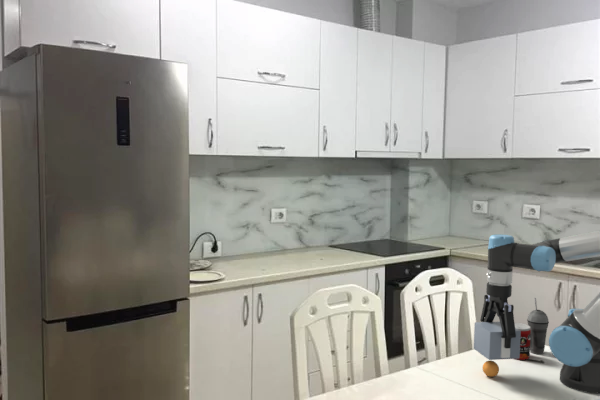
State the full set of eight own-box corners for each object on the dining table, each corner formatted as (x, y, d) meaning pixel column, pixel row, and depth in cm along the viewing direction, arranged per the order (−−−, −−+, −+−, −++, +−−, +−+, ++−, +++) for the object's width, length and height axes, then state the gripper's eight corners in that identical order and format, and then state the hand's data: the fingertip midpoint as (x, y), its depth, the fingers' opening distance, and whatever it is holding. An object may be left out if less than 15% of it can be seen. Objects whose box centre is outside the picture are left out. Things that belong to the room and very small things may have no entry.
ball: (486, 354, 176) (476, 366, 176) (497, 362, 171) (486, 374, 171) (494, 362, 178) (484, 374, 178) (504, 370, 174) (494, 382, 173)
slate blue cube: (502, 347, 181) (503, 321, 180) (519, 358, 170) (520, 331, 170) (473, 348, 179) (474, 322, 178) (489, 359, 169) (490, 332, 168)
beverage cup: (550, 356, 193) (552, 301, 192) (528, 354, 195) (530, 299, 193) (545, 349, 200) (547, 296, 199) (524, 348, 202) (525, 295, 201)
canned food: (511, 360, 190) (512, 329, 189) (503, 352, 198) (504, 322, 197) (533, 360, 189) (534, 329, 189) (524, 352, 197) (525, 322, 197)
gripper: (471, 275, 184) (468, 340, 185) (507, 292, 161) (504, 365, 163) (492, 275, 185) (489, 339, 186) (530, 291, 162) (527, 364, 164)
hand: (496, 351), depth 175 cm, fingers closed on slate blue cube, 10 cm apart
